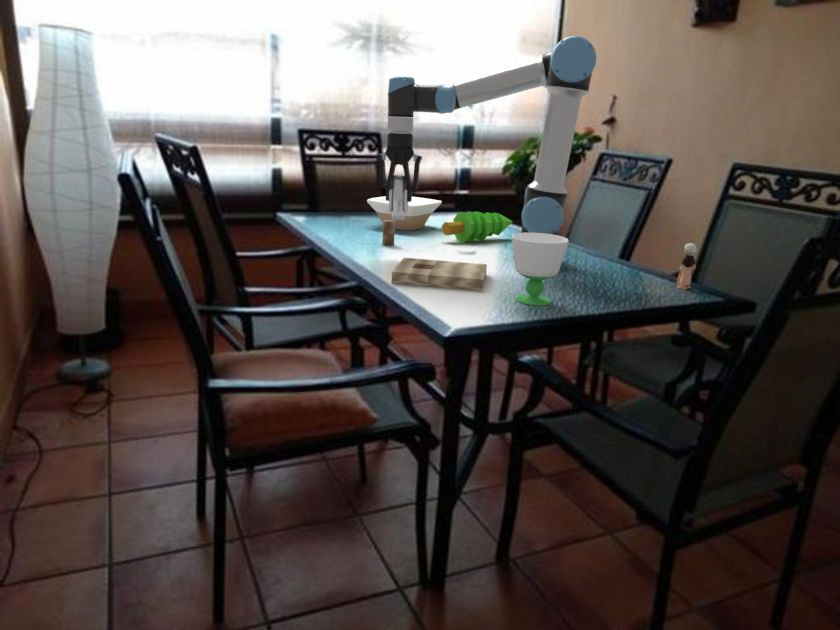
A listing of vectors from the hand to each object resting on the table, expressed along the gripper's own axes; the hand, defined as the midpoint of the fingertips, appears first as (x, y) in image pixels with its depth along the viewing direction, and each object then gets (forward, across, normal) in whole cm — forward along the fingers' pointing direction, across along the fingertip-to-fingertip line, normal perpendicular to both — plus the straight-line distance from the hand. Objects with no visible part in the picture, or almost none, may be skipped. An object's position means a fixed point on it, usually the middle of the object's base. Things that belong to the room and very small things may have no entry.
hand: (398, 211), depth 194 cm
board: (+14, -16, +23) cm, 32 cm away
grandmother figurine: (+16, -83, +10) cm, 85 cm away
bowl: (+14, +8, -54) cm, 56 cm away
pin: (+2, 0, 0) cm, 2 cm away
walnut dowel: (+14, +7, -18) cm, 24 cm away
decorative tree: (+15, -23, -38) cm, 47 cm away
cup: (+15, -41, +37) cm, 57 cm away
